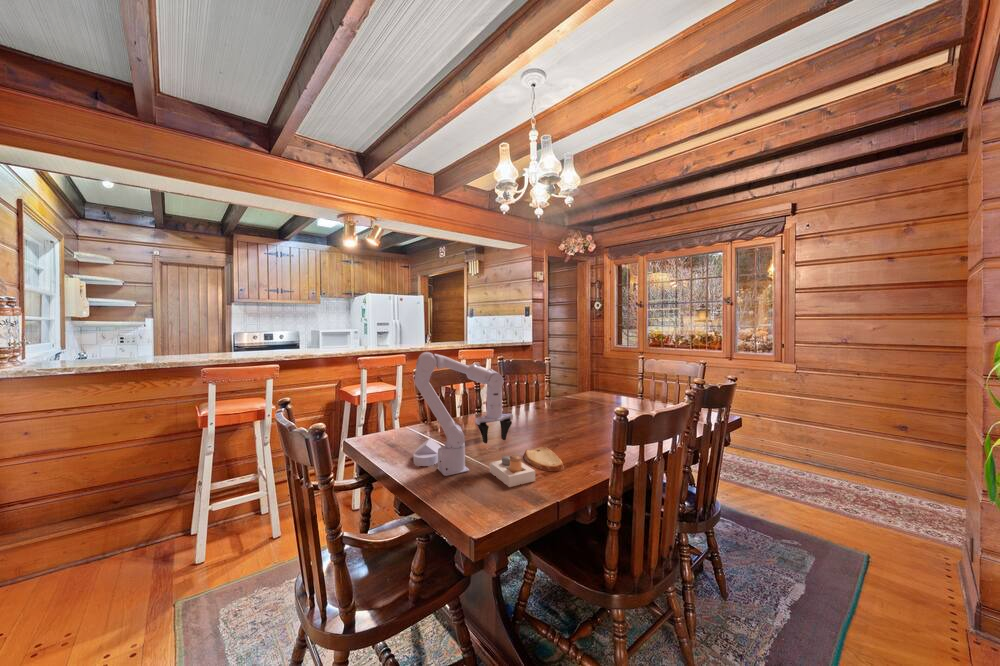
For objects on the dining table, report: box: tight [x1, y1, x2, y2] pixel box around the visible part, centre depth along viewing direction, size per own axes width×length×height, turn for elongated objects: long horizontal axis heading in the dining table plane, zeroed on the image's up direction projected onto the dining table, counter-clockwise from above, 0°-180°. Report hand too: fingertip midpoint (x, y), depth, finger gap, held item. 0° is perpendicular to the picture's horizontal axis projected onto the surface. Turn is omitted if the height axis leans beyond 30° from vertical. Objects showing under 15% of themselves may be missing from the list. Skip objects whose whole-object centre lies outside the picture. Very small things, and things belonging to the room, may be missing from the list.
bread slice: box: [523, 446, 565, 472], centre depth 148 cm, size 18×18×4 cm
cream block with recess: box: [489, 455, 536, 488], centre depth 133 cm, size 10×14×6 cm
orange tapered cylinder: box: [509, 454, 523, 473], centre depth 131 cm, size 4×4×7 cm
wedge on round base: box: [413, 437, 442, 467], centre depth 148 cm, size 9×7×13 cm
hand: (494, 441), depth 142 cm, fingers open, 7 cm apart
